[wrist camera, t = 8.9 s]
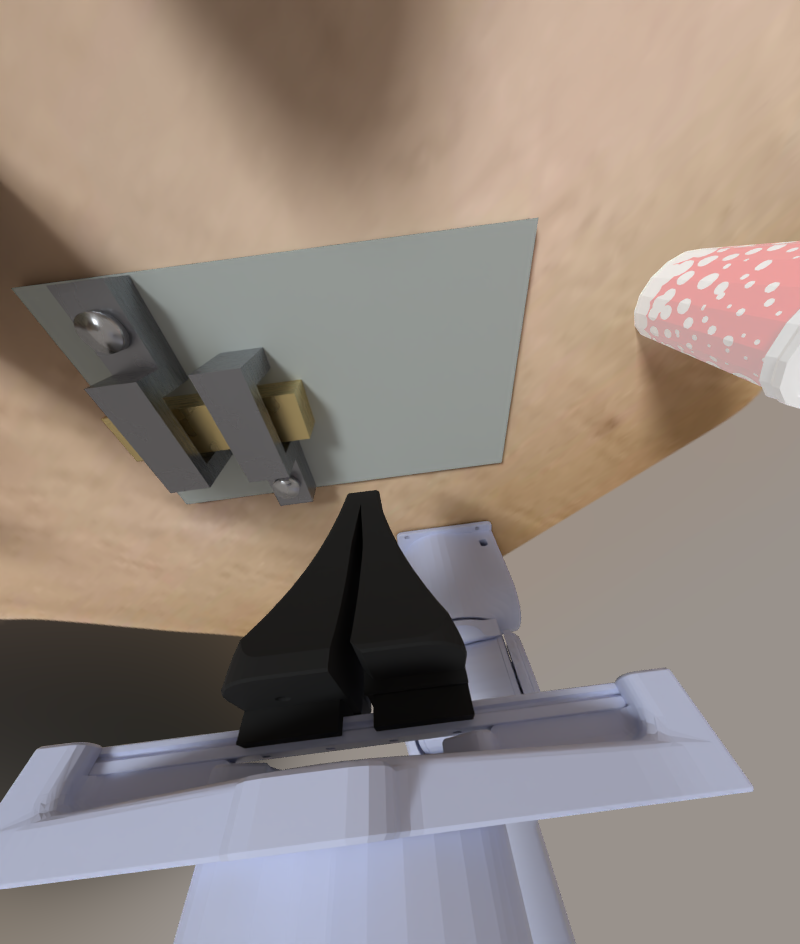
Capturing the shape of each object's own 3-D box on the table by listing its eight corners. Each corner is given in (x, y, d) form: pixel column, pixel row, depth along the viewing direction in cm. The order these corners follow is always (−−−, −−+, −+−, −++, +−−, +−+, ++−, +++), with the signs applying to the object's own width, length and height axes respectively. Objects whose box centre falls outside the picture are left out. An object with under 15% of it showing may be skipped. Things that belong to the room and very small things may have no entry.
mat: (532, 218, 14) (538, 217, 14) (498, 458, 24) (501, 462, 23) (22, 286, 14) (11, 288, 14) (190, 499, 24) (186, 504, 23)
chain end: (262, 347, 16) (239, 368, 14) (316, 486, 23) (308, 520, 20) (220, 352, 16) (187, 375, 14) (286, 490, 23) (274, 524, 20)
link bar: (301, 379, 18) (293, 393, 16) (315, 421, 20) (309, 438, 18) (126, 402, 18) (100, 419, 16) (157, 442, 20) (137, 461, 18)
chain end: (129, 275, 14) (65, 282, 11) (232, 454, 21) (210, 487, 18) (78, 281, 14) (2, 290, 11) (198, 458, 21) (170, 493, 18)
